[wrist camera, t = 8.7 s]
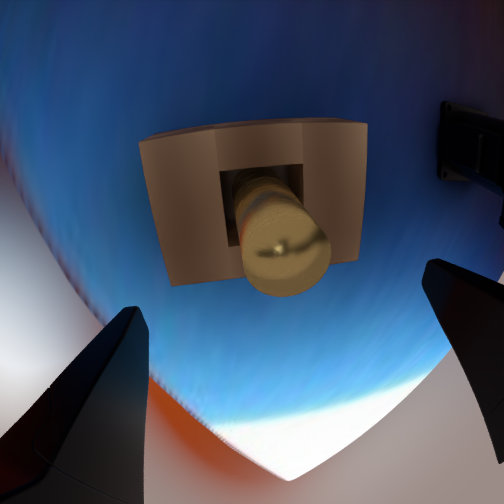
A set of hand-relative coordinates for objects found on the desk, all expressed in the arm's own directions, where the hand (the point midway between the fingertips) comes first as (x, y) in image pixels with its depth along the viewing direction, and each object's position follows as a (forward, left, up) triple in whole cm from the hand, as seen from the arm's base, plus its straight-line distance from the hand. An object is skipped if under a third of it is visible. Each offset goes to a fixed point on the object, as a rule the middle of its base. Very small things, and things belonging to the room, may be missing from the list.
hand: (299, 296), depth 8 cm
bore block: (0, 0, -11) cm, 11 cm away
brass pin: (0, 0, -10) cm, 10 cm away
